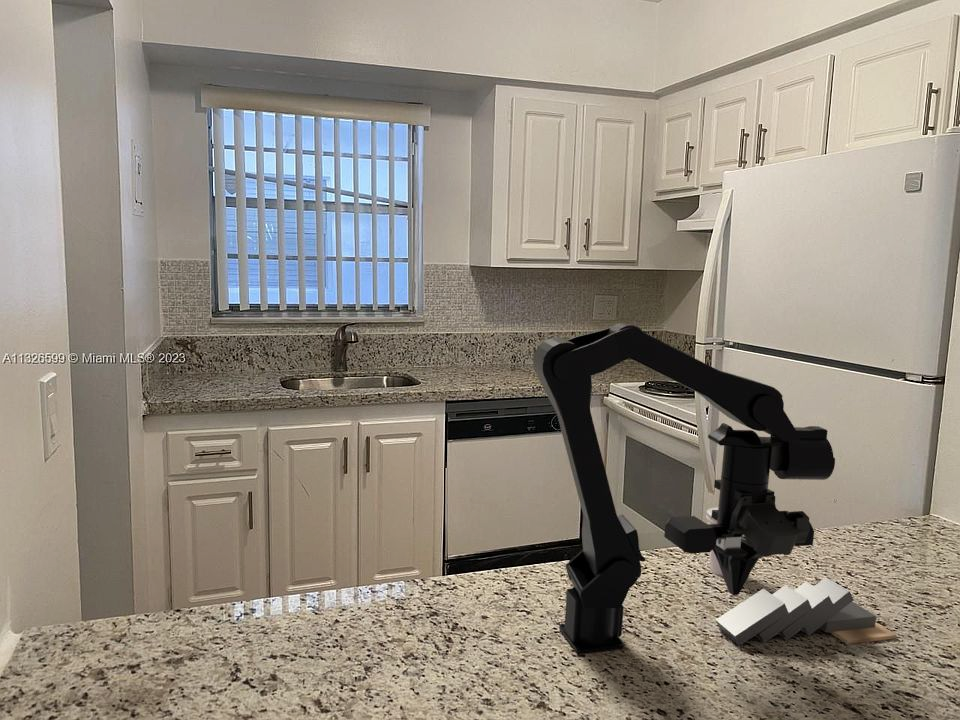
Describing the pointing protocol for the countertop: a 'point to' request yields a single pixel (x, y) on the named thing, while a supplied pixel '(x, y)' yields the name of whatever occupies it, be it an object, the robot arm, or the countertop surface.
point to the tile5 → (850, 619)
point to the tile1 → (751, 616)
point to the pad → (864, 634)
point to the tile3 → (818, 604)
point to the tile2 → (795, 608)
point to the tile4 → (838, 598)
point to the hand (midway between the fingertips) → (733, 593)
